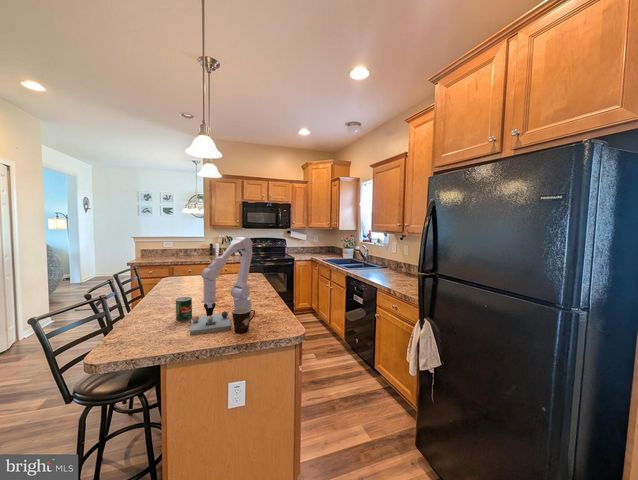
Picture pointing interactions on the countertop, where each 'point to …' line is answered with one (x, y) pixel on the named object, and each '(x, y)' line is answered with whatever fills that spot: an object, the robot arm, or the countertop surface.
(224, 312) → the black rubber ball
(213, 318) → the steel ball
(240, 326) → the coffee mug
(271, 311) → the countertop surface
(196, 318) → the terracotta ball
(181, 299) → the canned tomato
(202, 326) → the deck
